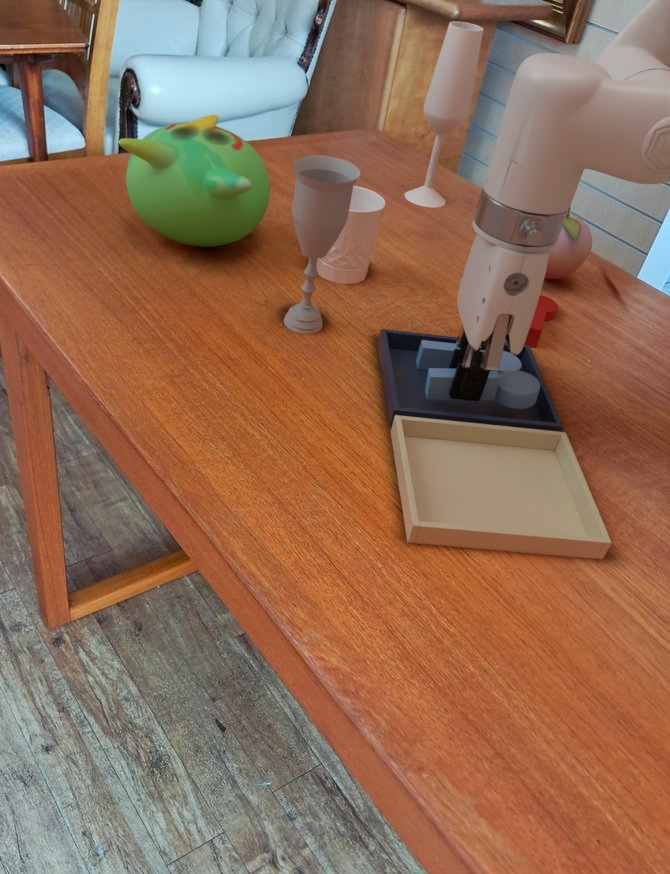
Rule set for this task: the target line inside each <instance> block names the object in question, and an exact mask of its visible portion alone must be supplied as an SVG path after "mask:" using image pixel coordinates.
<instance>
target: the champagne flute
mask: <svg viewBox="0 0 670 874" xmlns="http://www.w3.org/2000/svg"><path fill="white" fill-rule="evenodd" d="M483 34H484V28H483V27H482V26H480V25H478V24H475V23H471V22H466V21H455V20H454V21H449V23H448V26H447V29H446V33H445V35H444V39H443V41H442V45H441V49H440V52H439V55H438V57H437V58H438V59H437V61H436V64H435V68H434V71H433V74H432V77H431V81H430V83H429V88H428V91H427V92H426V93H427V94H426V97H425V101H424V103H423V109H422V111H423V115H424V118H425V120H426V122H427V124H428V125H429V127H430V128H431V130H432V131H433V132H434V133H435V139H434V143H433V147H432V150H431V156H430V160H429V163H428V168H427V171H426V176H425V180H424V184H423V185H422V186H419V187H416V188H413V189H410V190H408V191H405V192H404V194H403V196H404V198H405V199H406V200H407V202H409V203H412V204H413V205H416V206H420V207H423V208H430V209H432V208H433V209H435V208H436V209H437V208H441V207H444V206H445V205H446V204H447V202H446V200H445V198H444V197H443V196H442V195H441V194H439V192H437V191H436V190H435V189H434V188H433V183H434V178H435V175H436V171H437V166H438V162H439V158H440V154H441V151H442V146H443V142H444V138H445V136H448V135H450V134H451V133H453V132H454V131H456V130H457V129H459V128H460V127H461V126H463V125H464V123H465V122H466V121H467V119H469V115H470V111H471V105H472V100H473V99H472V98H473V93H474V88H475V87H474V86H475V82H476V76H477V75H476V74H477V69H478V65H479V64H478V62H479V58H480V52H481V45H482V39H483Z"/></svg>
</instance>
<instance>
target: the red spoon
mask: <svg viewBox="0 0 670 874" xmlns="http://www.w3.org/2000/svg"><path fill="white" fill-rule="evenodd" d="M558 310H559V304H558V303H557V302H556V301H555V300H554V299H552V298H550V297H548V296H545V295H542V294H540V296H539V300H538V303H537V306H536V310H535V313H534V316H533V319H532V322H531V325H530V328H529V332H528V335H527V338H526V341H525V343H524V345H530V348H534V349H536V348H537V346H538V342H539V340H540V337H541V335H542V333H543V330H544V324H545V322H551V321H553V320H554V319H555V317H556V315H557V312H558Z"/></svg>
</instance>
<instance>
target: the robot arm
mask: <svg viewBox="0 0 670 874" xmlns="http://www.w3.org/2000/svg"><path fill="white" fill-rule="evenodd" d="M585 170H591V171H595V172H598V173H601V174H605V175H607V176H611V177H613V178H616V179H620V180H623V181H627V182H630V183H634V184H640V185H661V184H665V183H669V182H670V0H649V1H648V2H647V3H646V4H645V5H644V6H643V7H642V8H641V9H640V10H639V11H638V12H637V13H636V14H635V15H634V17H632V18H631V20H630V21H629V22H628V23H627V24H626V25H625V26H624V27H623V28H622V29H621V30H620V31H619V32H618V33H617V34H616V36H615V37H613V39H612V40H611V41H609V42H608V44H607V45H606V46H605V47H604V48H603V50H602V51H601V52H599V54H598V55H597V57H596V58H595V59H594V61H590V60H588V59H585V58H582V57H578V56H575V55H570V54H563V53H556V52H541V53H535V54H532V55H530V56H528V57H527V58H525V59H524V60H523V61H522V62H521V64H520V65H519V67H518V68H517V70H516V73H515V76H514V78H513V81H512V85H511V89H510V91H509V96H508V99H507V102H506V106H505V109H504V113H503V116H502V119H501V123H500V126H499V130H498V133H497V136H496V140H495V143H494V147H493V151H492V154H491V157H490V160H489V164H488V167H487V171H486V175H485V178H484V182H483V185H482V188H481V191H480V195H479V199H478V202H477V205H476V208H475V212H474V216H473V219H472V223H471V227H472V230H473V231H474V232H475V237H474V240H473V243H472V245H471V247H470V251H469V254H468V257H467V260H466V263H465V266H464V270H463V272H462V276H461V279H460V283H459V287H458V292H457V296H456V306H457V310H458V314H459V318H460V320H461V324H460V327H459V331H458V334H457V336H456V337H457V342H456V347H457V348H460V349H454V352H453V356H452V359H451V362H450V365H449V369H456V372H455V375H454V378H453V381H452V385H451V388H450V391H449V395H450V398H452V399H460V400H469V401H479V400H480V399H481V396H482V393H483V390H484V387H485V385H486V382H487V379H488V376H489V373H490V371H498V369H499V366H500V361H501V357H502V352H503V347H504V343H507V345H508V348H509V351H510V353H512V354H514V355H518V354H519V353H520V352H521V351H522V349H523V346H524V343H525V341H526V338H527V335H528V332H529V328H530V325H531V322H532V319H533V316H534V313H535V310H536V306H537V303H538V300H539V296H540V295H541V293H542V289H543V285H544V281H545V279H544V277H545V273H546V268H547V263H548V258H549V250H551V249H553V248H554V247H555V246H556V243H557V241H558V238H559V235H560V233H561V230H562V227H563V225H564V222H565V219H566V216H567V214H568V211H569V208H570V207H571V205H572V203H573V200H574V197H575V195H576V192H577V189H578V187H579V184H580V181H581V179H582V176H583V174H584V171H585ZM570 209H571V208H570ZM569 212H570V211H569ZM484 349H486V351H485V352H481V351H480V350H484Z"/></svg>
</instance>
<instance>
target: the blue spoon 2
mask: <svg viewBox="0 0 670 874" xmlns="http://www.w3.org/2000/svg"><path fill="white" fill-rule="evenodd" d="M455 372H456V369H449V368H429V369H428V375H427V381H426V387H425V393H426V398H427V400H460V399H452V398H450V395H449V391H450V388H451V385H452V381H453V378H454V375H455ZM539 389H540V383H539V381H538V380H537V379H536V378H535V377H534V376H532V375H531V374H528V373H526V372H522V371H515V370H511V371H505V372H502V373H500V374H499V373H498V371H490V373H489V376H488V379H487V382H486V385H485V387H484V390H483V393H482V396H481V399H480V400H483V401H495V399H496V401H498V402H499V403H500V404H502V405H504V406H506V407H509V408H514V409H525V408H529V407H531V406H533V405H534V404H535V403H536V400H537V396H538V393H539Z"/></svg>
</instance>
